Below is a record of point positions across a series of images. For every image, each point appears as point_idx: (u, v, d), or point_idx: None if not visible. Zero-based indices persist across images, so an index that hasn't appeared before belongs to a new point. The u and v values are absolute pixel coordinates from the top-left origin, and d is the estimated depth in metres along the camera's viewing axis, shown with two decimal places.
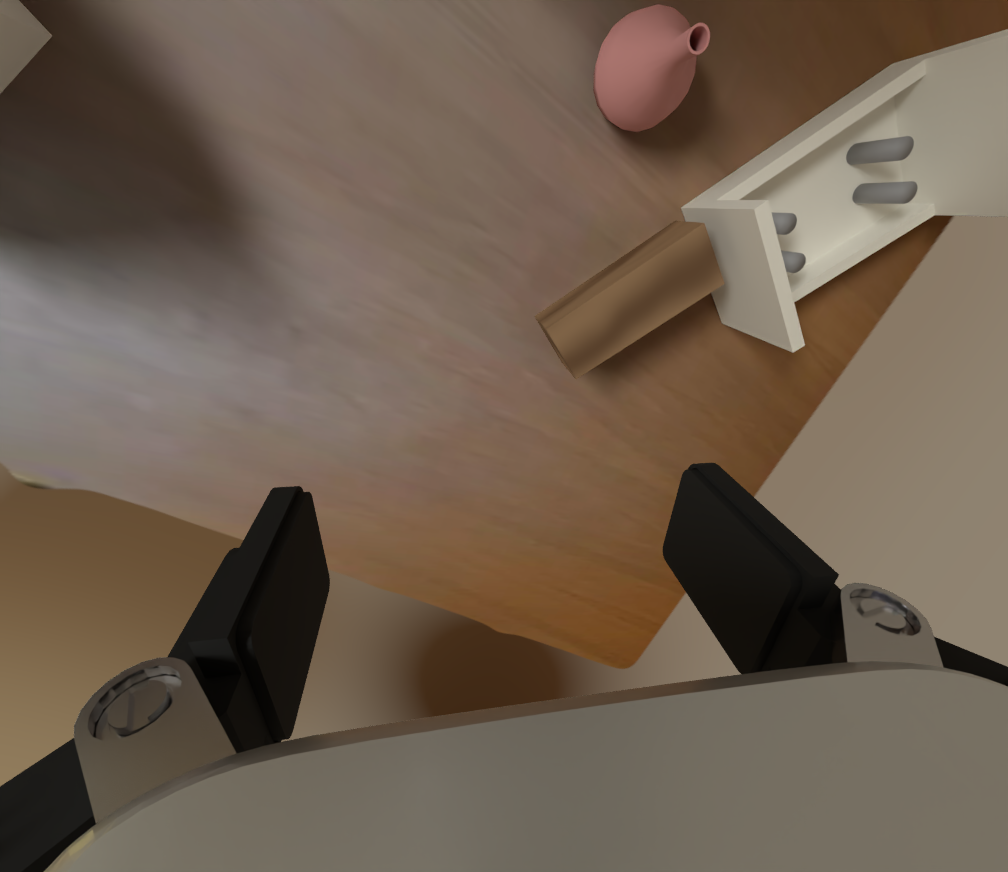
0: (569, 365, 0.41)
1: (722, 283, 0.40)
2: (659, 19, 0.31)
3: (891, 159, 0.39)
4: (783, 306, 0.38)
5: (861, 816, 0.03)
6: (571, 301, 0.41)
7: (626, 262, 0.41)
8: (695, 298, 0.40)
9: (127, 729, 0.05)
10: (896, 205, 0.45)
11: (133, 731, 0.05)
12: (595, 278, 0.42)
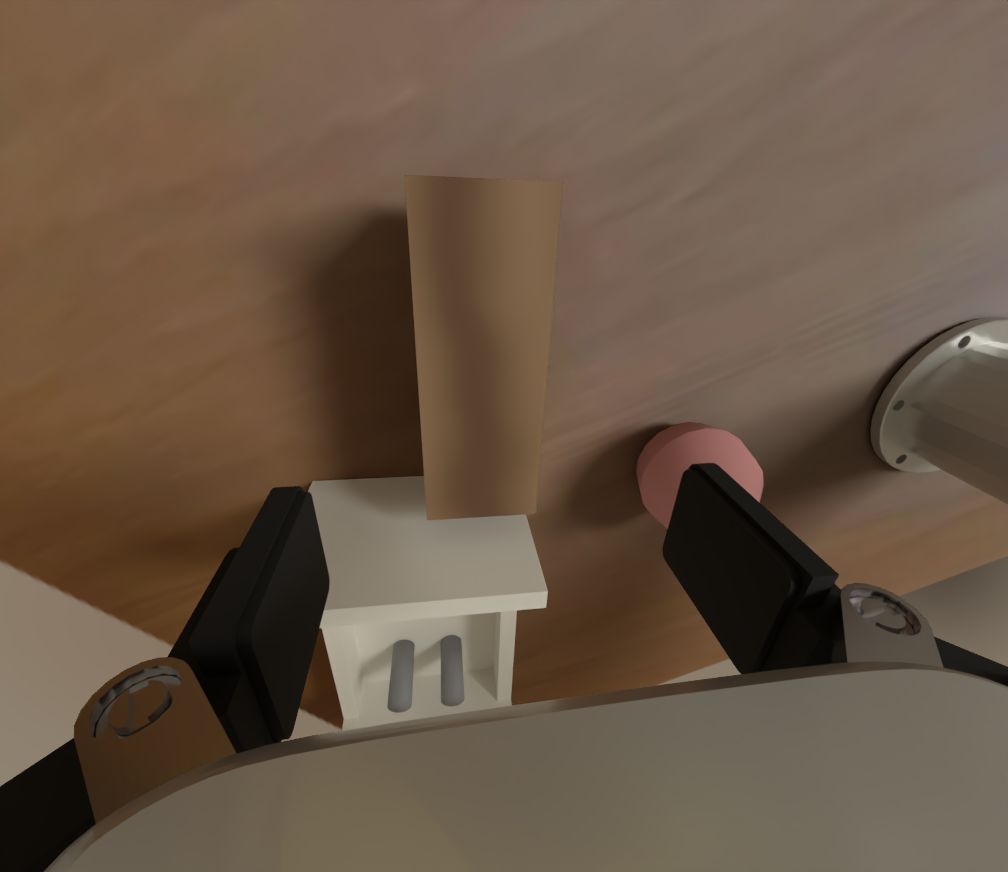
0: (449, 181, 0.16)
1: (429, 517, 0.23)
2: None
3: (446, 688, 0.33)
4: (362, 610, 0.21)
5: (861, 816, 0.03)
6: None
7: None
8: (431, 475, 0.22)
9: (127, 729, 0.05)
10: (367, 675, 0.38)
11: (133, 731, 0.05)
12: None
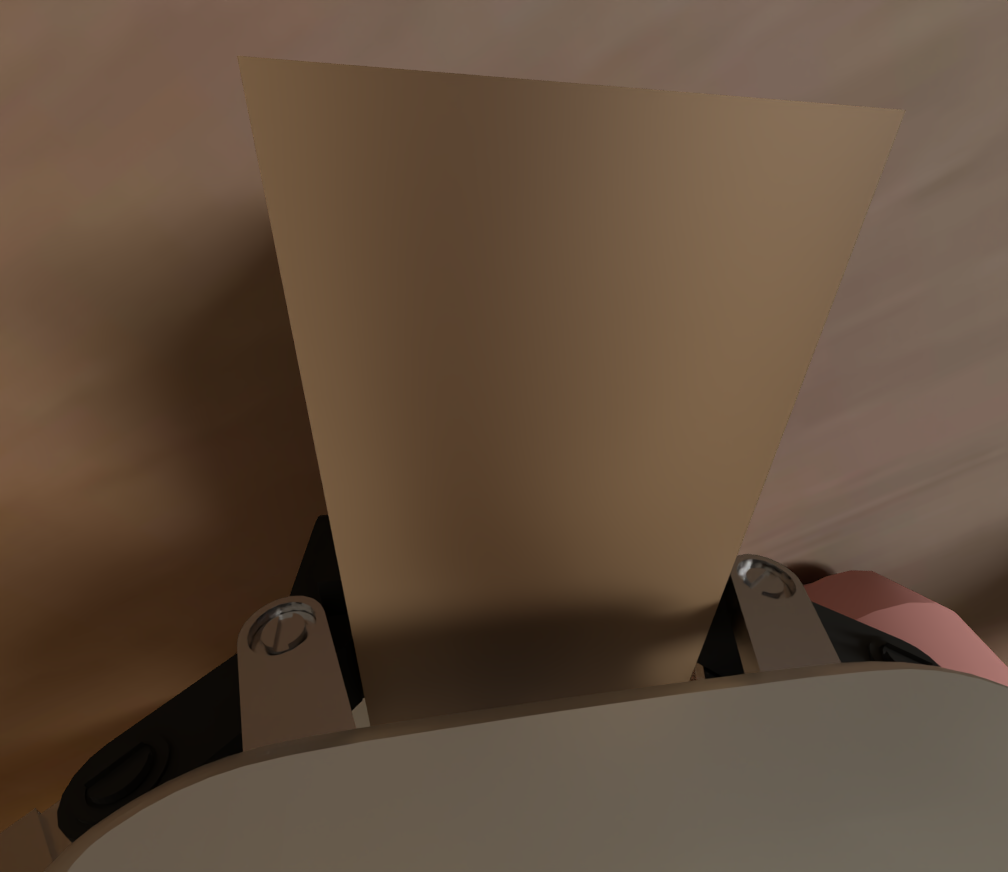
0: (453, 95, 0.04)
1: None
2: None
3: None
4: None
5: (861, 816, 0.03)
6: None
7: None
8: None
9: (273, 649, 0.06)
10: None
11: (277, 652, 0.06)
12: None
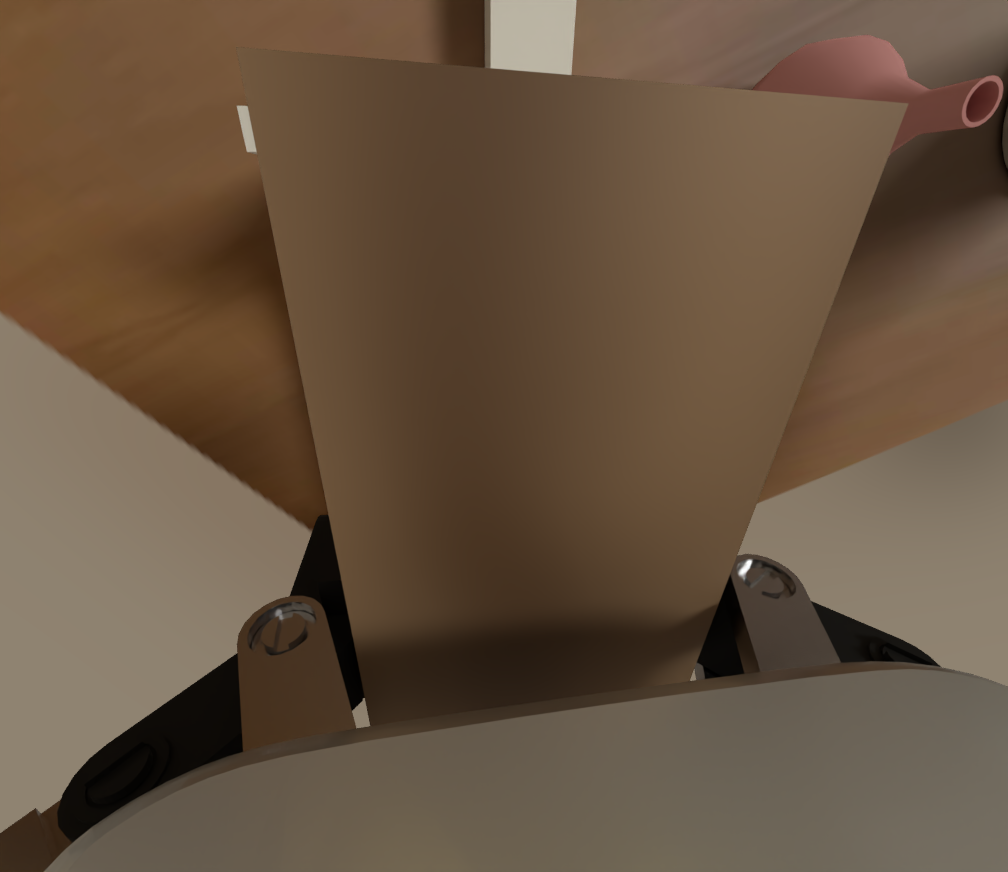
0: (453, 87, 0.04)
1: None
2: None
3: None
4: None
5: (861, 816, 0.03)
6: None
7: None
8: None
9: (273, 649, 0.06)
10: None
11: (276, 652, 0.06)
12: None
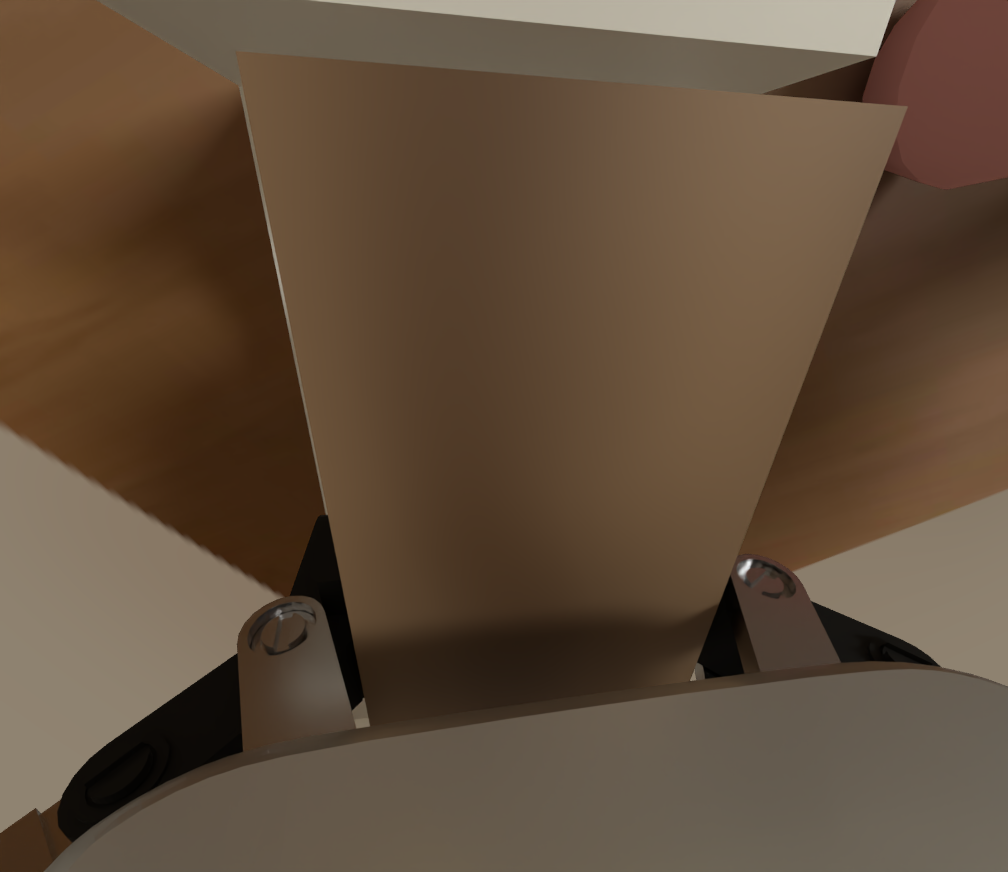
0: (452, 91, 0.04)
1: None
2: None
3: None
4: None
5: (861, 816, 0.03)
6: None
7: None
8: None
9: (273, 649, 0.06)
10: None
11: (276, 652, 0.06)
12: None
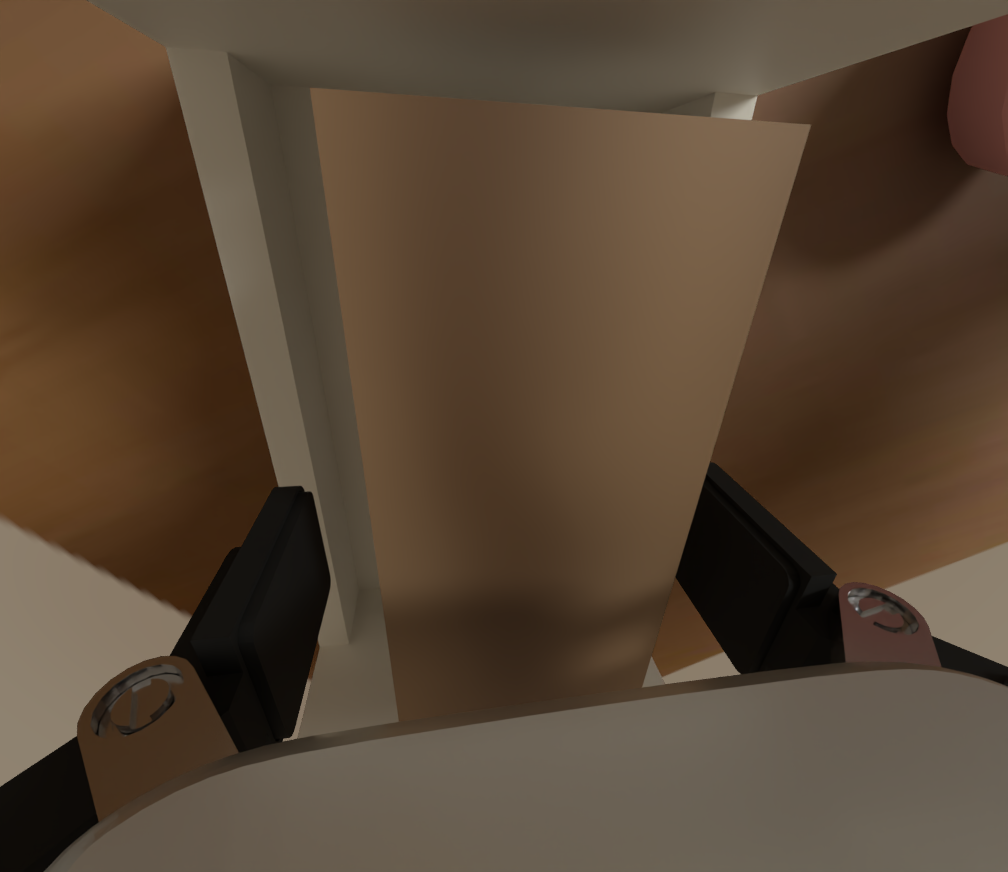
0: (465, 115, 0.05)
1: None
2: None
3: None
4: None
5: (861, 816, 0.03)
6: None
7: None
8: None
9: (130, 727, 0.05)
10: (364, 575, 0.21)
11: (136, 729, 0.05)
12: None
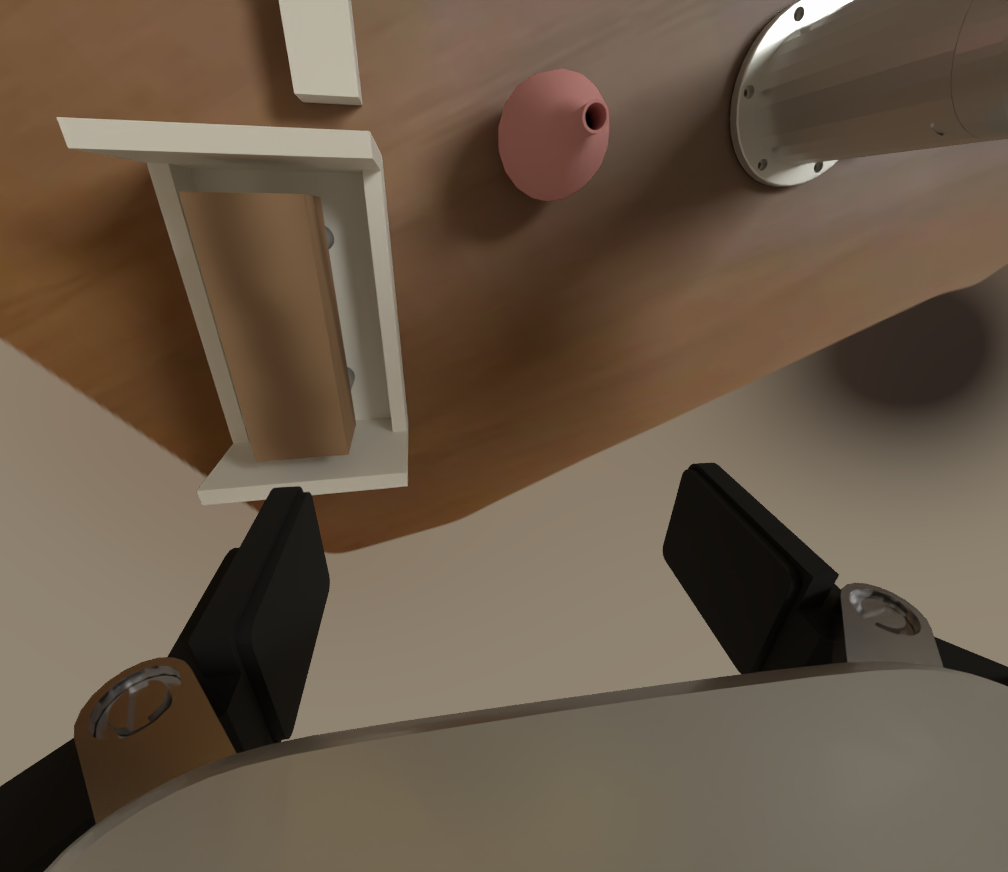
0: (214, 195, 0.22)
1: (257, 459, 0.29)
2: (597, 147, 0.29)
3: None
4: (176, 128, 0.21)
5: (861, 816, 0.03)
6: (322, 260, 0.27)
7: (339, 355, 0.30)
8: (251, 423, 0.28)
9: (127, 729, 0.05)
10: None
11: (133, 731, 0.05)
12: (335, 308, 0.30)
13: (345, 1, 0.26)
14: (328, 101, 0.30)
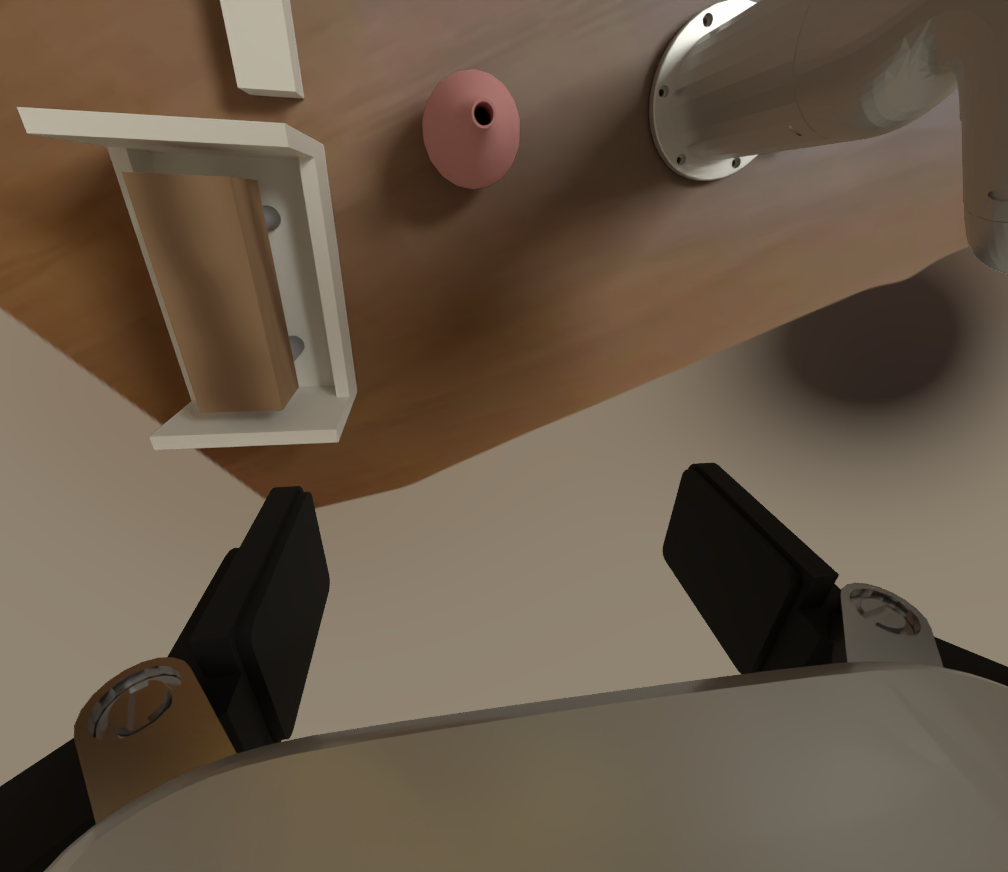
0: (152, 175, 0.26)
1: (201, 410, 0.34)
2: (506, 140, 0.32)
3: None
4: (117, 118, 0.25)
5: (861, 816, 0.03)
6: (256, 235, 0.31)
7: (276, 321, 0.34)
8: (194, 377, 0.32)
9: (127, 729, 0.05)
10: None
11: (133, 731, 0.05)
12: (274, 280, 0.34)
13: (280, 6, 0.30)
14: (272, 94, 0.33)
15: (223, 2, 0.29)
